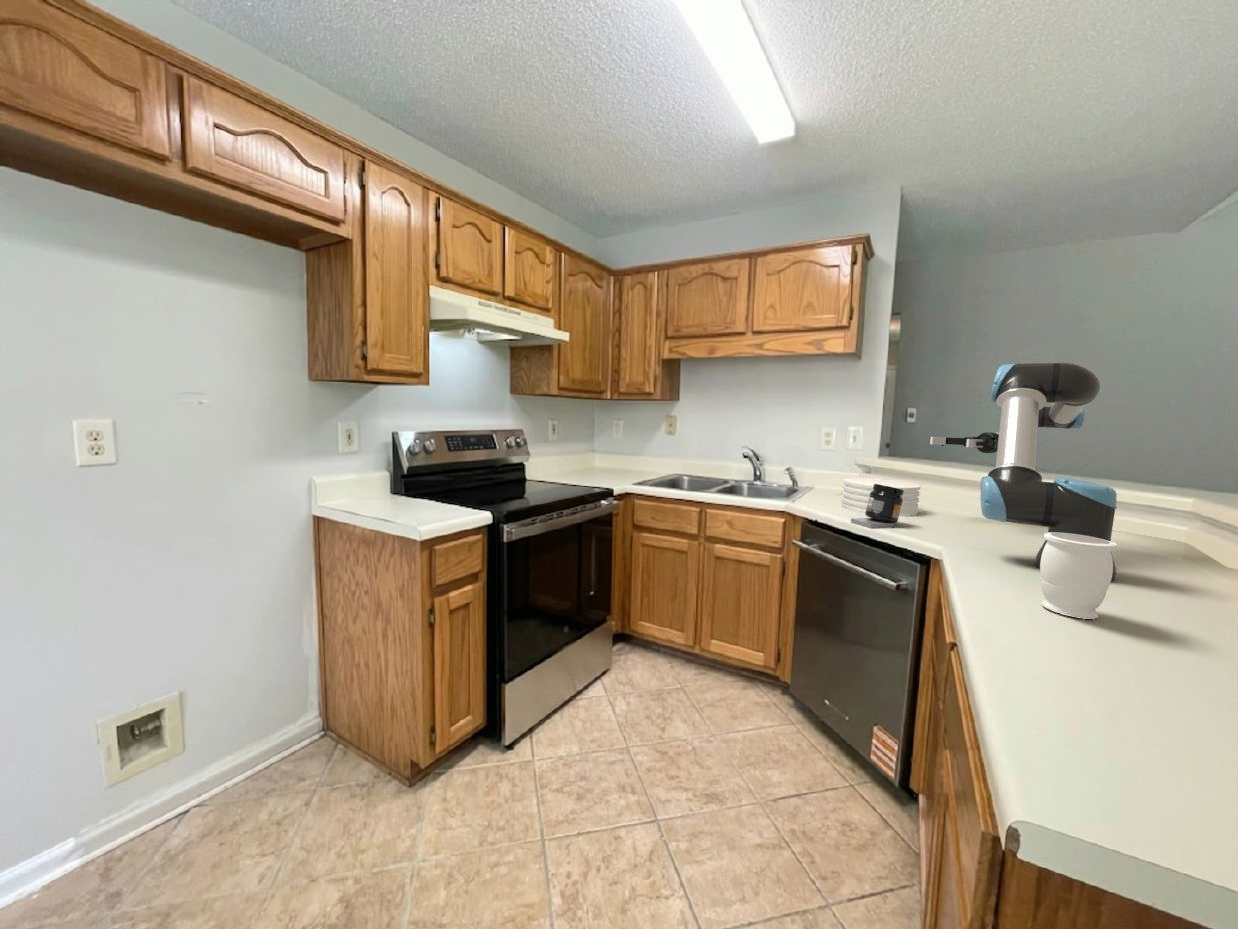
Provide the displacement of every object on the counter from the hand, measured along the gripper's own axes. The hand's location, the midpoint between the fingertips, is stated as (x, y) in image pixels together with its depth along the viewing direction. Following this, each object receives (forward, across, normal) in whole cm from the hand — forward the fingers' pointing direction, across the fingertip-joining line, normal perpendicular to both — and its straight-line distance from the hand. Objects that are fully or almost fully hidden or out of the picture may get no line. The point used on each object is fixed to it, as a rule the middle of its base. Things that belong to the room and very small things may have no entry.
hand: (948, 441), depth 172 cm
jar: (+47, -67, -30) cm, 88 cm away
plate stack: (-2, +29, -30) cm, 42 cm away
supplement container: (+22, +5, -29) cm, 36 cm away
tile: (+21, +5, -29) cm, 36 cm away
